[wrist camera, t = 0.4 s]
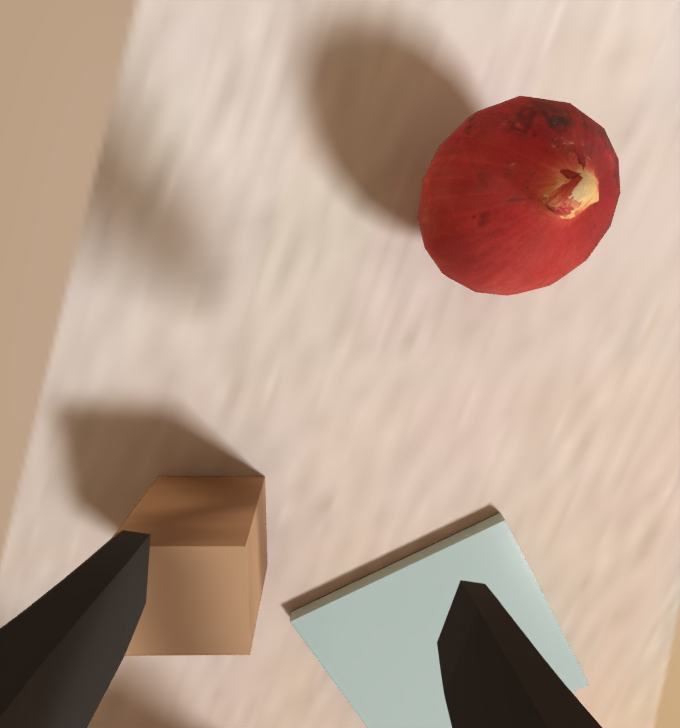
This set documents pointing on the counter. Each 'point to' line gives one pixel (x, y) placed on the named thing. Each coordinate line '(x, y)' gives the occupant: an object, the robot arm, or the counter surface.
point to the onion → (518, 196)
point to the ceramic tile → (424, 625)
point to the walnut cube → (201, 564)
